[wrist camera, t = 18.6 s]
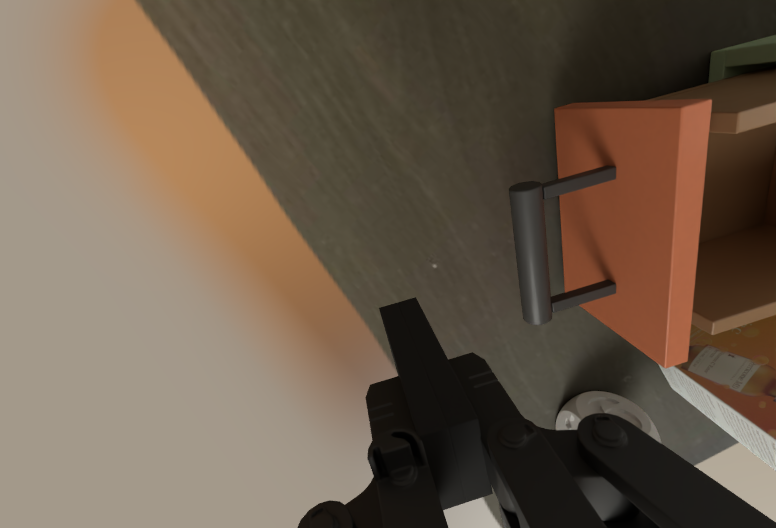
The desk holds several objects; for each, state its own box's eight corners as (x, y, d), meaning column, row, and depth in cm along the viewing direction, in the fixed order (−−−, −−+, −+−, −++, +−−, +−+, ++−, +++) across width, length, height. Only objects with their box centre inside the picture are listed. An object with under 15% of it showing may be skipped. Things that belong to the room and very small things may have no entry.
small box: (736, 281, 29) (951, 368, 19) (754, 329, 31) (955, 429, 21) (645, 346, 29) (805, 462, 20) (668, 388, 32) (824, 511, 22)
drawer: (493, 317, 25) (567, 401, 18) (466, 131, 20) (550, 143, 13) (751, 237, 26) (918, 286, 19) (780, 46, 22) (1015, 14, 14)
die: (550, 443, 32) (590, 500, 27) (560, 394, 30) (604, 446, 25) (605, 434, 32) (654, 488, 28) (618, 386, 30) (672, 434, 26)
